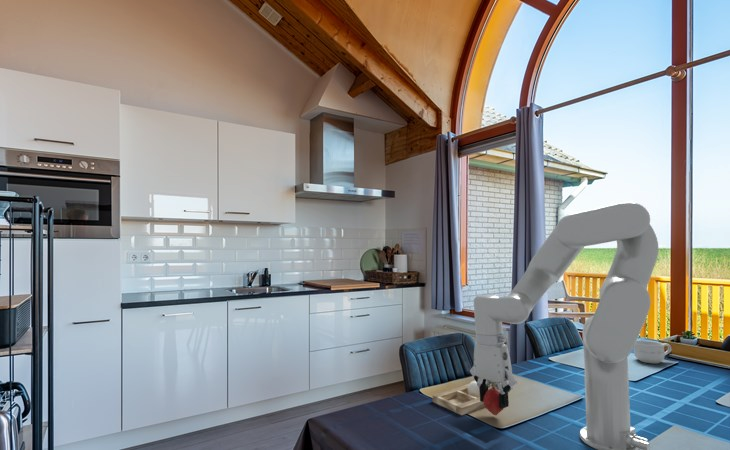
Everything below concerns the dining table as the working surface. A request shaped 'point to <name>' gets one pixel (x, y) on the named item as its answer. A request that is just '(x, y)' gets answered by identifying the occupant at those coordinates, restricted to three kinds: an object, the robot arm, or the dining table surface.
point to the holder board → (458, 400)
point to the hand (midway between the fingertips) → (494, 403)
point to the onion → (492, 401)
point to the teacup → (650, 351)
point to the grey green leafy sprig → (492, 384)
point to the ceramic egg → (474, 389)
